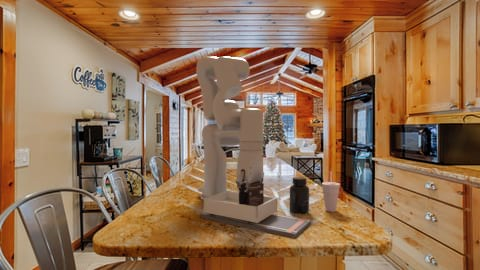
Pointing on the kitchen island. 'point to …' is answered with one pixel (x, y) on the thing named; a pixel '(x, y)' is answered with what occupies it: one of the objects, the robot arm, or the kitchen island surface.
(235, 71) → the robot arm
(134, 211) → the kitchen island surface
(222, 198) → the white tray
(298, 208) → the supplement bottle
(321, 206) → the kitchen island surface
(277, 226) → the rail board
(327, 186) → the smoothie
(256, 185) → the box
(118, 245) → the kitchen island surface
